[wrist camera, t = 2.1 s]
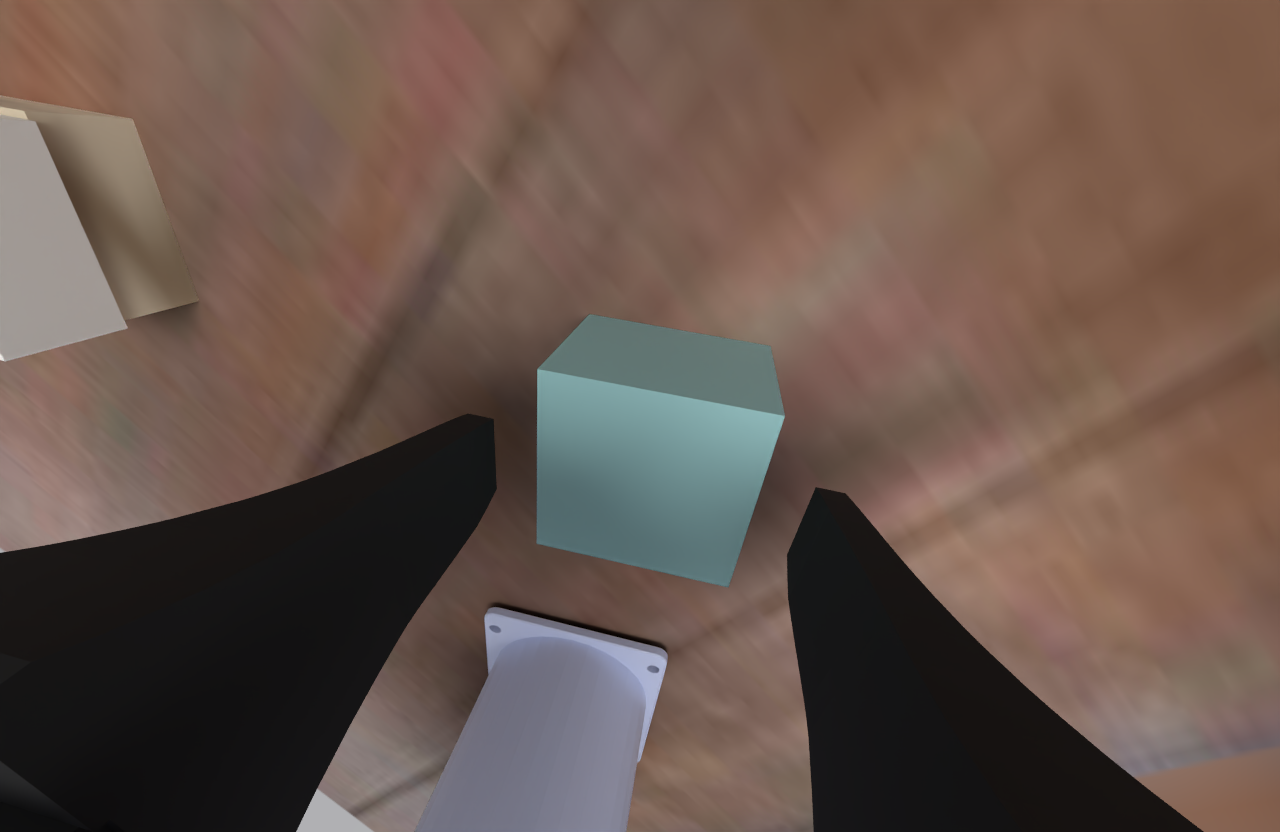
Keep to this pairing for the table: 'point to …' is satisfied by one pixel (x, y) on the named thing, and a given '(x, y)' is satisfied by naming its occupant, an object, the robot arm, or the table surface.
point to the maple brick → (114, 204)
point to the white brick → (44, 254)
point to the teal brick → (654, 445)
